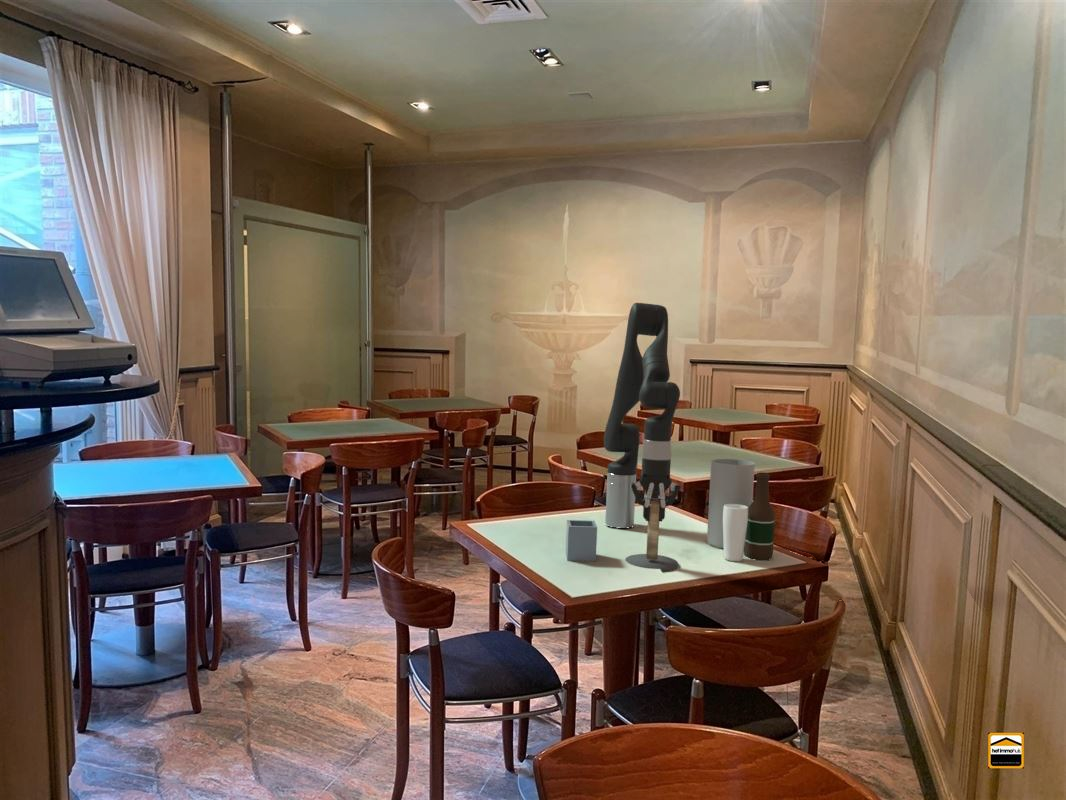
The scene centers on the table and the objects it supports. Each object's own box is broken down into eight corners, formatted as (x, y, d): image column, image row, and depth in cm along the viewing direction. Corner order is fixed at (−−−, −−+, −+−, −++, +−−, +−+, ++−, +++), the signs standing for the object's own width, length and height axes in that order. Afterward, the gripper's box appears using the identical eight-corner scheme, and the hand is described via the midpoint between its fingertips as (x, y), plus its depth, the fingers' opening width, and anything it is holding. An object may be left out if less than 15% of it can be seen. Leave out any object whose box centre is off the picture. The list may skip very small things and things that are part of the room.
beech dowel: (645, 556, 211) (647, 498, 209) (656, 556, 211) (659, 498, 210) (647, 559, 208) (649, 500, 206) (658, 560, 208) (661, 500, 206)
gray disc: (622, 556, 216) (622, 553, 216) (672, 557, 216) (672, 554, 216) (629, 571, 202) (629, 567, 202) (682, 572, 202) (683, 569, 202)
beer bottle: (759, 562, 215) (764, 476, 213) (738, 555, 221) (742, 471, 219) (778, 559, 219) (783, 474, 217) (757, 552, 225) (761, 470, 224)
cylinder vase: (755, 551, 227) (760, 466, 225) (712, 549, 227) (716, 464, 225) (743, 540, 239) (747, 459, 237) (702, 538, 239) (706, 458, 237)
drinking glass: (715, 556, 219) (718, 504, 218) (736, 555, 221) (738, 503, 220) (729, 563, 212) (732, 509, 211) (750, 561, 215) (753, 508, 214)
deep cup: (565, 555, 215) (566, 519, 214) (592, 556, 215) (594, 520, 214) (567, 563, 207) (568, 526, 206) (595, 564, 207) (597, 527, 206)
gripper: (679, 455, 211) (676, 518, 212) (628, 453, 211) (625, 516, 212) (685, 459, 204) (682, 524, 205) (632, 458, 203) (629, 523, 205)
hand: (653, 520), depth 208 cm, fingers closed on beech dowel, 3 cm apart
